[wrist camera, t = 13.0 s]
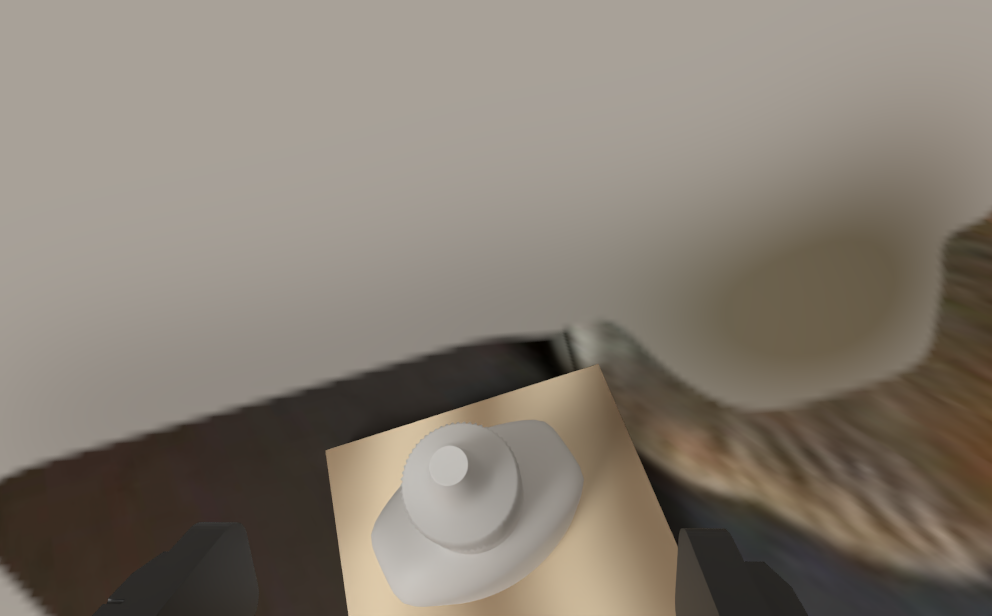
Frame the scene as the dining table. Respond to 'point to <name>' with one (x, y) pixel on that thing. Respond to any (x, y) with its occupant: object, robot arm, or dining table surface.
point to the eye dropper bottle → (476, 511)
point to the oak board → (583, 549)
